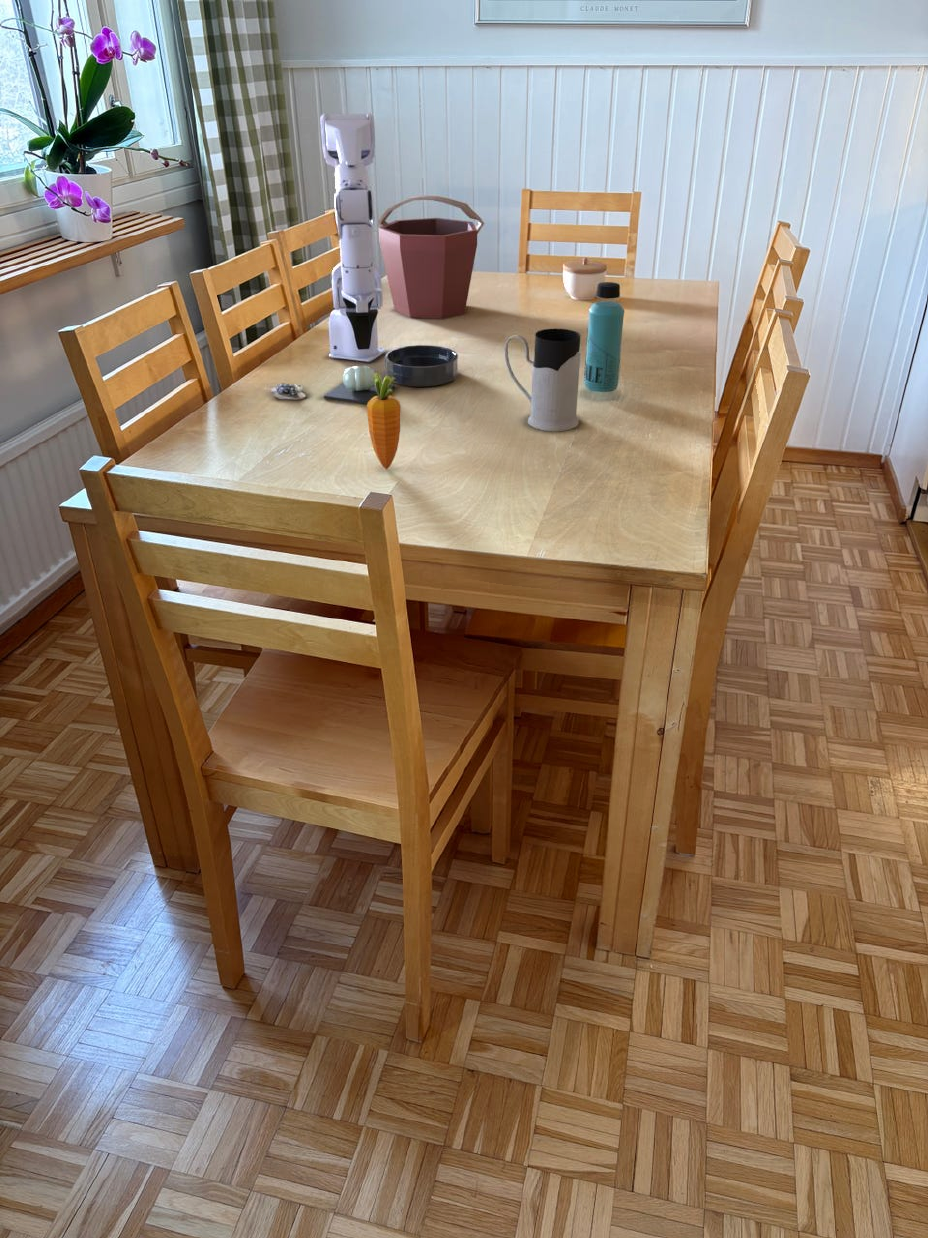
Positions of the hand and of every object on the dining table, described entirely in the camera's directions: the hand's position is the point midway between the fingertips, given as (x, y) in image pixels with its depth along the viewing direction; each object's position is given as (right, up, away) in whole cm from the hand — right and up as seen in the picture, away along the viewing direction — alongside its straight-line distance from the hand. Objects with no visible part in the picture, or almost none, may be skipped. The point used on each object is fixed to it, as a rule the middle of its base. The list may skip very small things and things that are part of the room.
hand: (362, 342), depth 170 cm
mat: (-1, -8, +4) cm, 9 cm away
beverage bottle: (+44, -9, +3) cm, 45 cm away
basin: (+10, -3, +12) cm, 16 cm away
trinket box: (+48, +30, +64) cm, 86 cm away
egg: (-1, -6, +2) cm, 6 cm away
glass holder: (+32, -16, -7) cm, 36 cm away
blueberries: (-14, -9, +3) cm, 17 cm away
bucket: (+11, +23, +53) cm, 59 cm away
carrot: (+7, -27, -25) cm, 38 cm away
